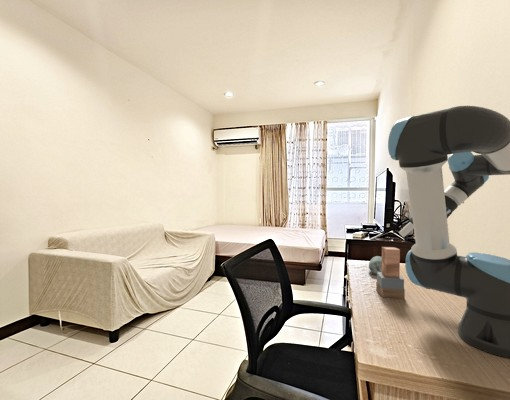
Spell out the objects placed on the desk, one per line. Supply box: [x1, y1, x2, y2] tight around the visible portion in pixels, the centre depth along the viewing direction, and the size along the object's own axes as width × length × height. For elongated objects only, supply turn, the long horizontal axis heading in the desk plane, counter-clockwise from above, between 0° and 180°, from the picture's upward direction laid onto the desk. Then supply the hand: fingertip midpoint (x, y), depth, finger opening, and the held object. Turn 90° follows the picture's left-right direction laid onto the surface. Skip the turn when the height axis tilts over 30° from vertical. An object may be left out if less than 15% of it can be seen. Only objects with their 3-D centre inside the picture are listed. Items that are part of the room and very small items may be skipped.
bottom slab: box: [375, 281, 406, 299], centre depth 105 cm, size 8×8×4 cm
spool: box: [368, 255, 382, 276], centre depth 133 cm, size 14×10×10 cm
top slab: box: [376, 272, 405, 290], centre depth 104 cm, size 8×8×4 cm
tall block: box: [381, 246, 401, 277], centre depth 105 cm, size 5×5×11 cm
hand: (408, 237), depth 104 cm, fingers open, 13 cm apart
